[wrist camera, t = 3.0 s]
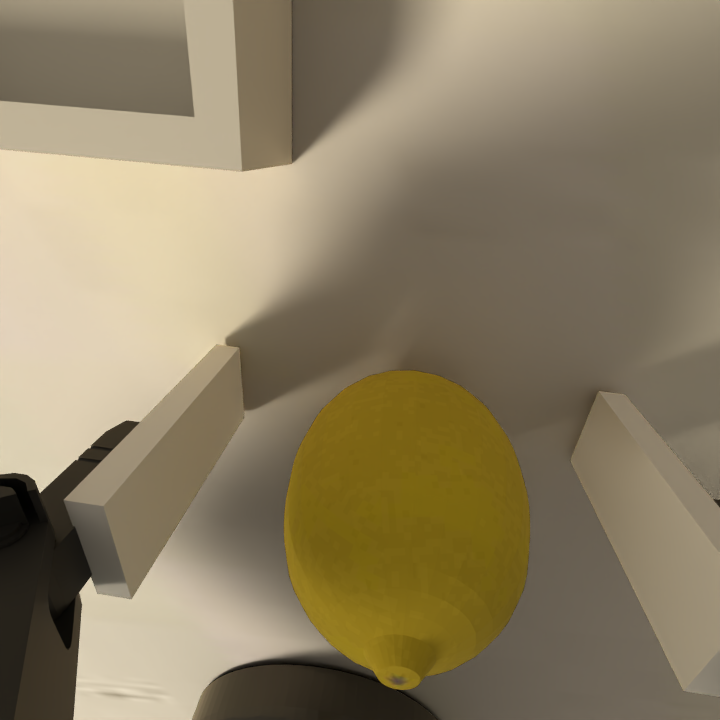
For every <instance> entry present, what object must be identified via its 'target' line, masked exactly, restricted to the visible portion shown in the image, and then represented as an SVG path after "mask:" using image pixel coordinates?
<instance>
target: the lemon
mask: <svg viewBox="0 0 720 720" xmlns="http://www.w3.org/2000/svg"><path fill="white" fill-rule="evenodd" d="M284 543H285V550H286V558H287V565H288V571H289V577H290V580H291V583H292V586H293V589H294V592H295V593H296V595H297V597H298V599H299V601H300V603H301V605H302V607H303V609H304V611H305V612H306V614H307V616H308V618H309V619H310V621H311V622H312V623H313V625H314V626H315V627H316V628H317V629H318V631H319V632H320V633H321V634H322V635H323V636H324V637H325V638H326V640H327V641H328V642H329V643H330V644H331V645H332V646H333V647H335V648H336V649H337V650H338V651H340V652H341V653H342V654H343V655H345V656H346V657H348V658H349V659H350V660H352V661H353V662H355V663H357V664H359V665H362V666H364V667H366V668H368V669H370V670H373V672H374V673H375V675H376V676H377V678H378V680H379V681H380V682H381V683H382V684H384V685H385V686H387V687H390V688H393V689H399V690H407V689H412V688H415V687H417V686H418V685H419V684H420V682H421V681H422V680H423V679H424V678H425V676H430V675H437V674H440V673H443V672H447V671H450V670H452V669H454V668H456V667H458V666H460V665H461V664H463V663H465V662H467V661H469V660H470V659H472V658H474V657H476V656H477V655H478V654H479V653H480V652H481V651H483V650H484V649H485V648H486V647H487V646H488V645H489V644H490V643H491V642H492V641H493V640H494V639H495V638H496V637H497V636H498V635H499V634H500V633H501V631H502V630H503V629H504V627H505V626H506V625H507V623H508V622H509V620H510V618H511V616H512V614H513V612H514V610H515V608H516V606H517V603H518V601H519V599H520V597H521V594H522V592H523V590H524V585H525V581H526V577H527V570H528V559H529V543H530V512H529V502H528V496H527V491H526V487H525V483H524V479H523V476H522V473H521V470H520V466H519V463H518V460H517V457H516V454H515V452H514V449H513V447H512V445H511V443H510V441H509V439H508V437H507V435H506V434H505V432H504V431H503V429H502V428H501V427H500V425H499V424H498V422H497V421H496V419H495V418H494V417H493V415H492V414H491V412H490V411H489V410H488V408H487V407H486V406H485V405H484V404H483V403H482V402H480V401H479V400H478V399H477V398H475V397H474V396H473V395H472V394H471V393H469V392H468V391H467V390H466V389H464V388H463V387H461V386H460V385H458V384H456V383H454V382H451V381H449V380H447V379H445V378H443V377H441V376H438V375H434V374H429V373H424V372H420V371H415V370H410V371H388V372H384V373H380V374H376V375H371V376H368V377H366V378H364V379H362V380H360V381H358V382H356V383H354V384H352V385H350V386H348V387H347V388H345V389H344V390H343V391H341V392H340V393H339V394H338V395H337V396H336V397H335V398H334V399H333V400H331V401H330V402H329V403H328V404H327V405H326V406H325V407H324V408H323V409H322V410H321V412H320V413H319V414H318V416H317V417H316V419H315V420H314V422H313V424H312V425H311V427H310V429H309V430H308V432H307V434H306V435H305V437H304V439H303V441H302V443H301V444H300V447H299V449H298V452H297V454H296V457H295V460H294V464H293V468H292V472H291V477H290V482H289V486H288V491H287V496H286V503H285V512H284Z"/></svg>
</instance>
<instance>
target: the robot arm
mask: <svg viewBox="0 0 720 720" xmlns="http://www.w3.org/2000/svg"><path fill="white" fill-rule="evenodd" d="M243 419H244V405H243V390H242V376H241V361H240V347H233V346H224V345H216V346H215V347H214V348H213V349H212V350H211V351H210V352H209V353H208V354H207V355H206V356H205V357H204V358H203V359H202V360H201V361H200V362H199V363H198V364H197V365H196V366H195V367H194V368H193V369H192V370H191V371H190V372H189V373H188V374H187V375H186V376H185V377H184V378H183V379H182V380H181V381H180V382H179V383H178V384H177V385H176V386H175V387H174V388H173V389H172V390H171V391H170V392H169V393H168V394H167V395H166V396H165V397H164V398H163V399H162V400H161V401H160V402H159V403H158V405H157V406H156V407H155V408H154V409H153V410H152V411H151V412H150V413H149V414H148V415H147V416H146V417H145V418H144V419H143V420H142V421H141V422H134V421H125V422H123V423H121V424H119V425H117V426H115V427H114V428H112V429H110V430H108V431H106V432H105V433H104V434H103V435H102V436H101V437H100V438H99V439H98V440H97V441H96V442H94V443H93V444H92V445H91V448H90V449H89V448H88V449H87V450H86V451H85V452H84V453H83V454H82V455H81V456H79V459H78V461H77V460H75V461H74V462H73V463H72V464H71V465H70V466H69V467H68V468H67V469H66V470H64V471H63V472H62V473H61V474H60V475H59V476H58V477H57V478H56V479H55V480H54V481H53V482H52V483H51V484H49V485H48V486H47V487H46V488H45V489H44V490H43V491H42V492H41V493H39V490H38V488H37V485H36V483H35V481H34V480H33V479H32V478H30V477H29V476H28V475H24V474H17V473H11V474H2V475H0V720H73V716H74V703H75V689H76V676H77V663H78V649H79V636H80V623H81V610H82V603H81V598H80V594H79V592H80V590H81V589H82V588H83V586H84V585H85V584H86V582H87V581H88V580H89V578H90V577H91V578H92V581H93V583H94V586H95V589H96V592H97V594H103V595H109V596H116V597H122V598H128V599H132V597H133V596H134V594H135V593H136V591H137V589H138V588H139V586H140V585H141V583H142V581H143V580H144V578H145V576H146V575H147V573H148V572H149V570H150V568H151V567H152V565H153V564H154V562H155V560H156V559H157V557H158V556H159V554H160V552H161V551H162V549H163V547H164V546H165V544H166V543H167V541H168V539H169V538H170V536H171V535H172V533H173V531H174V530H175V528H176V527H177V525H178V523H179V522H180V520H181V518H182V517H183V515H184V514H185V512H186V510H187V509H188V507H189V506H190V504H191V502H192V501H193V499H194V498H195V496H196V494H197V493H198V491H199V489H200V488H201V486H202V485H203V483H204V481H205V480H206V478H207V477H208V475H209V473H210V472H211V470H212V469H213V467H214V465H215V464H216V462H217V460H218V459H219V457H220V456H221V454H222V452H223V451H224V449H225V448H226V446H227V444H228V443H229V441H230V439H231V438H232V436H233V435H234V433H235V431H236V430H237V428H238V427H239V425H240V423H241V422H242V420H243ZM570 461H571V463H572V466H573V468H574V470H575V472H576V474H577V476H578V478H579V480H580V482H581V484H582V486H583V488H584V490H585V492H586V494H587V496H588V498H589V500H590V502H591V504H592V506H593V508H594V510H595V512H596V514H597V516H598V518H599V521H600V523H601V525H602V527H603V529H604V531H605V533H606V535H607V537H608V539H609V541H610V543H611V545H612V547H613V549H614V551H615V553H616V555H617V557H618V559H619V561H620V563H621V565H622V567H623V569H624V571H625V573H626V575H627V578H628V580H629V582H630V584H631V586H632V588H633V590H634V592H635V594H636V596H637V598H638V600H639V602H640V604H641V606H642V608H643V610H644V612H645V614H646V616H647V618H648V620H649V622H650V624H651V626H652V628H653V630H654V633H655V635H656V637H657V639H658V641H659V643H660V645H661V647H662V649H663V651H664V653H665V655H666V657H667V659H668V661H669V663H670V665H671V667H672V669H673V671H674V673H675V675H676V677H677V679H678V681H679V683H680V685H681V687H682V690H683V691H685V692H691V693H697V694H703V695H709V696H715V697H720V500H716V499H712V498H711V497H710V495H709V494H708V493H707V492H706V491H705V489H704V488H703V487H702V486H701V485H700V483H699V482H698V481H697V480H696V479H695V477H694V476H693V475H692V474H691V473H690V472H689V470H688V469H687V468H686V467H685V466H684V464H683V463H682V462H681V461H680V460H679V458H678V457H677V456H676V455H675V454H674V452H673V451H672V450H671V449H670V448H669V447H668V445H667V444H666V443H665V442H664V441H663V439H662V438H661V437H660V436H659V435H658V433H657V432H656V431H655V430H654V429H653V427H652V426H651V425H650V424H649V423H648V422H647V420H646V419H645V418H644V417H643V416H642V414H641V413H640V412H639V411H638V410H637V408H636V407H635V406H634V405H633V404H632V402H631V401H630V400H629V399H628V398H627V396H626V395H625V394H619V393H611V392H603V391H598V393H597V396H596V398H595V401H594V403H593V405H592V408H591V410H590V413H589V415H588V418H587V420H586V423H585V425H584V428H583V430H582V432H581V435H580V437H579V440H578V442H577V445H576V447H575V450H574V452H573V455H572V457H571V459H570ZM192 720H437V719H436V718H435V717H434V716H433V715H432V714H431V713H430V712H429V711H428V710H426V709H425V708H424V707H422V706H421V705H420V704H418V703H417V702H415V701H414V700H412V699H411V698H409V697H407V696H405V695H404V694H402V693H400V692H398V691H396V690H394V689H392V688H390V687H387V686H385V685H383V684H380V683H378V682H375V681H372V680H369V679H366V678H363V677H360V676H357V675H353V674H349V673H345V672H341V671H337V670H332V669H326V668H320V667H313V666H303V665H264V666H256V667H250V668H245V669H241V670H237V671H234V672H231V673H228V674H226V675H224V676H222V677H220V678H218V679H216V680H215V681H213V682H212V683H211V684H210V685H209V686H208V687H207V688H206V689H205V690H204V691H203V693H202V695H201V697H200V700H199V702H198V705H197V708H196V710H195V713H194V715H193V718H192Z"/></svg>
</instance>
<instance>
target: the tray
mask: <svg viewBox="0 0 720 720" xmlns="http://www.w3.org/2000/svg"><path fill="white" fill-rule="evenodd" d="M0 149H2V150H13V151H24V152H35V153H46V154H57V155H68V156H79V157H89V158H100V159H111V160H122V161H133V162H144V163H155V164H165V165H176V166H187V167H198V168H209V169H220V170H231V171H241V172H242V171H249V170H255V169H262V168H268V167H275V166H281V165H287V164H292V0H0Z"/></svg>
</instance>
